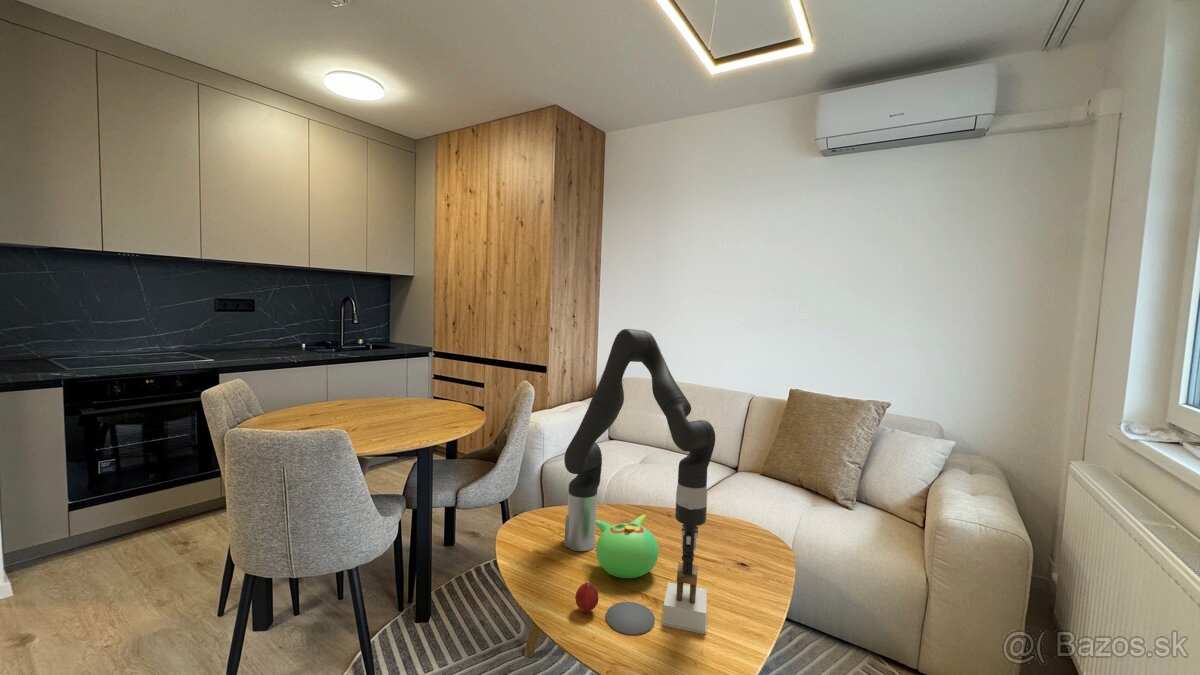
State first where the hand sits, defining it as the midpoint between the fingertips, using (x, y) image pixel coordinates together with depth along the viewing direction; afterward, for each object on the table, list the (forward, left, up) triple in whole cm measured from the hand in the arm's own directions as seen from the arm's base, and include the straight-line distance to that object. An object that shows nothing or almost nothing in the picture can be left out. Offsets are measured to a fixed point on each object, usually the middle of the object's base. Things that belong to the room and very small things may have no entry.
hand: (688, 565), depth 115 cm
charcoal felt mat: (-13, -5, -13) cm, 19 cm away
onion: (-24, -6, -13) cm, 28 cm away
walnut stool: (0, 0, -8) cm, 8 cm away
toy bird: (-18, +15, -13) cm, 27 cm away
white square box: (0, 0, -13) cm, 13 cm away
